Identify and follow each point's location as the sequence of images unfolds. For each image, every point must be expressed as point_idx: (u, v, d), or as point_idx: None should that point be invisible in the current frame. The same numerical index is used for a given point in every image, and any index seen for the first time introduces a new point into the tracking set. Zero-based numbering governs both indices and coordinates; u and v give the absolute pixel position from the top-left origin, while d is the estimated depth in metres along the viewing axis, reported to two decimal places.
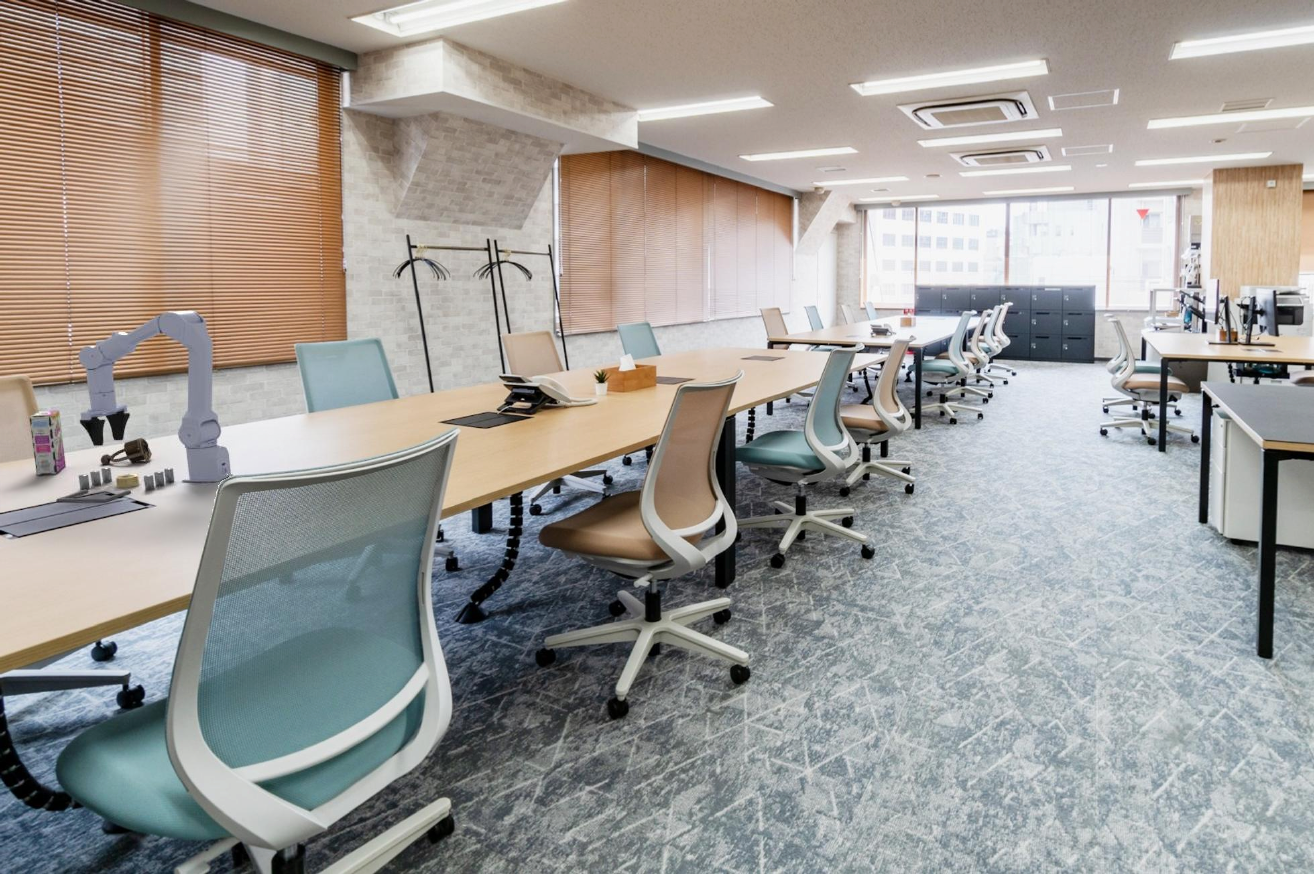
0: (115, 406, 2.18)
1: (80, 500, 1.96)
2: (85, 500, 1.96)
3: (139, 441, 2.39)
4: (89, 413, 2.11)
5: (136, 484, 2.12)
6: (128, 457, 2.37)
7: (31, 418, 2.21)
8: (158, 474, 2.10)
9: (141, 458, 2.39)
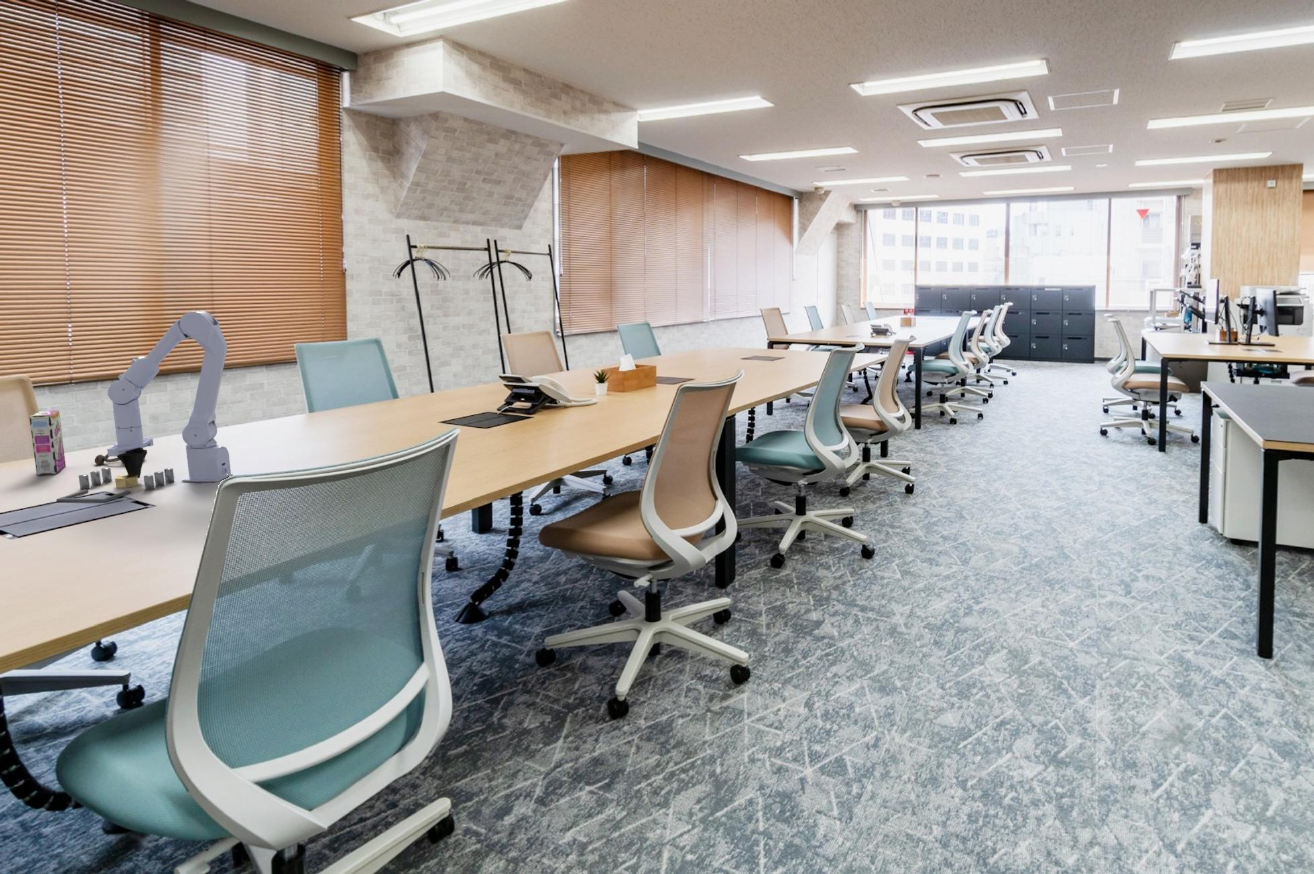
0: (142, 441, 2.13)
1: (80, 500, 1.96)
2: (85, 500, 1.96)
3: None
4: (116, 449, 2.06)
5: (135, 484, 2.11)
6: None
7: (31, 418, 2.21)
8: (158, 474, 2.10)
9: None
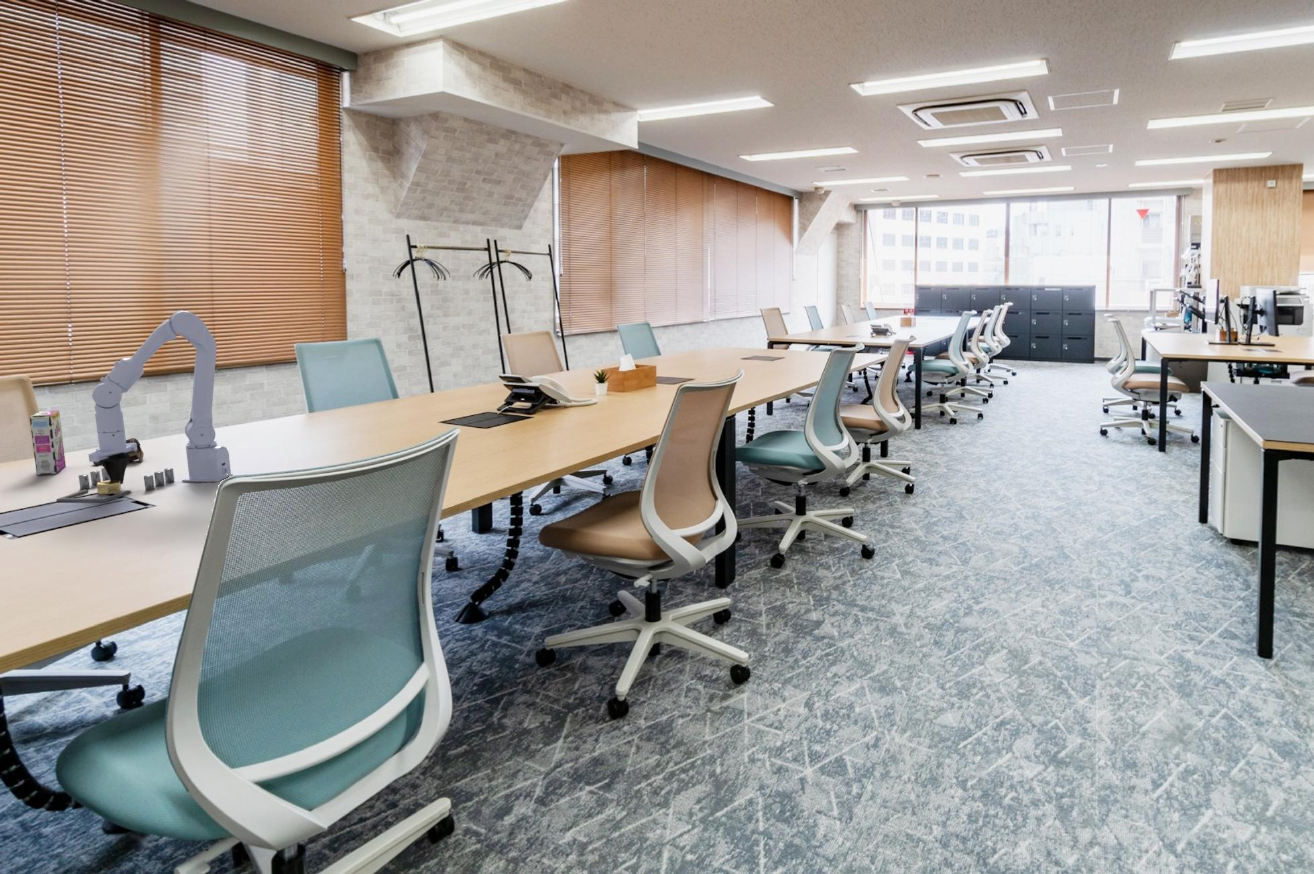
0: (125, 446, 2.07)
1: (80, 500, 1.96)
2: (85, 500, 1.96)
3: (132, 441, 2.39)
4: (97, 454, 2.00)
5: (118, 490, 2.05)
6: None
7: (31, 418, 2.21)
8: (158, 474, 2.10)
9: (134, 458, 2.40)
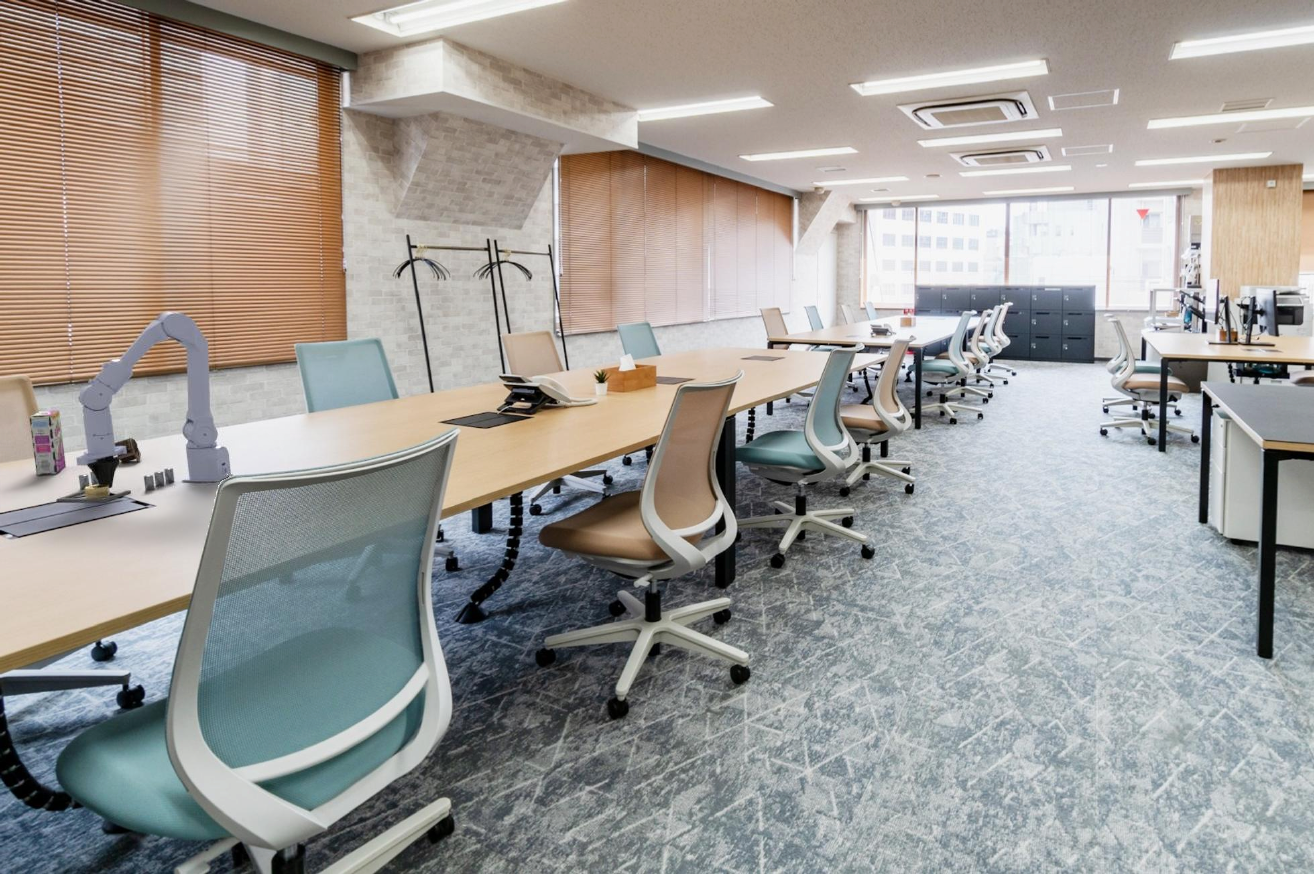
0: (114, 449, 2.03)
1: (80, 500, 1.96)
2: (85, 500, 1.96)
3: (130, 441, 2.39)
4: (86, 458, 1.96)
5: (106, 494, 2.01)
6: (119, 457, 2.37)
7: (31, 418, 2.21)
8: (158, 474, 2.10)
9: (132, 458, 2.40)
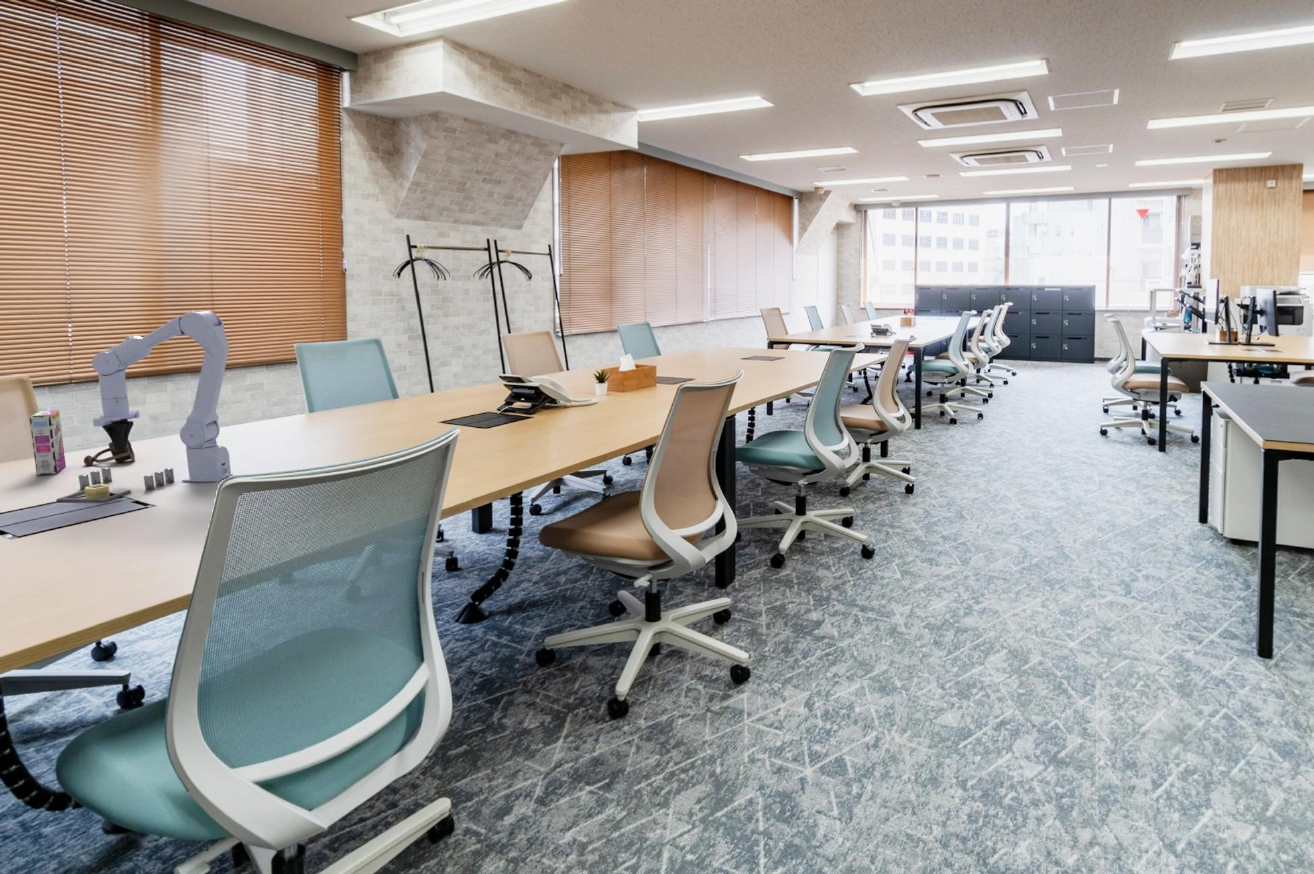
0: (128, 412, 2.15)
1: (80, 500, 1.96)
2: (85, 500, 1.96)
3: None
4: (102, 420, 2.08)
5: (106, 495, 2.01)
6: (115, 457, 2.37)
7: (31, 418, 2.21)
8: (158, 474, 2.10)
9: (127, 458, 2.40)
